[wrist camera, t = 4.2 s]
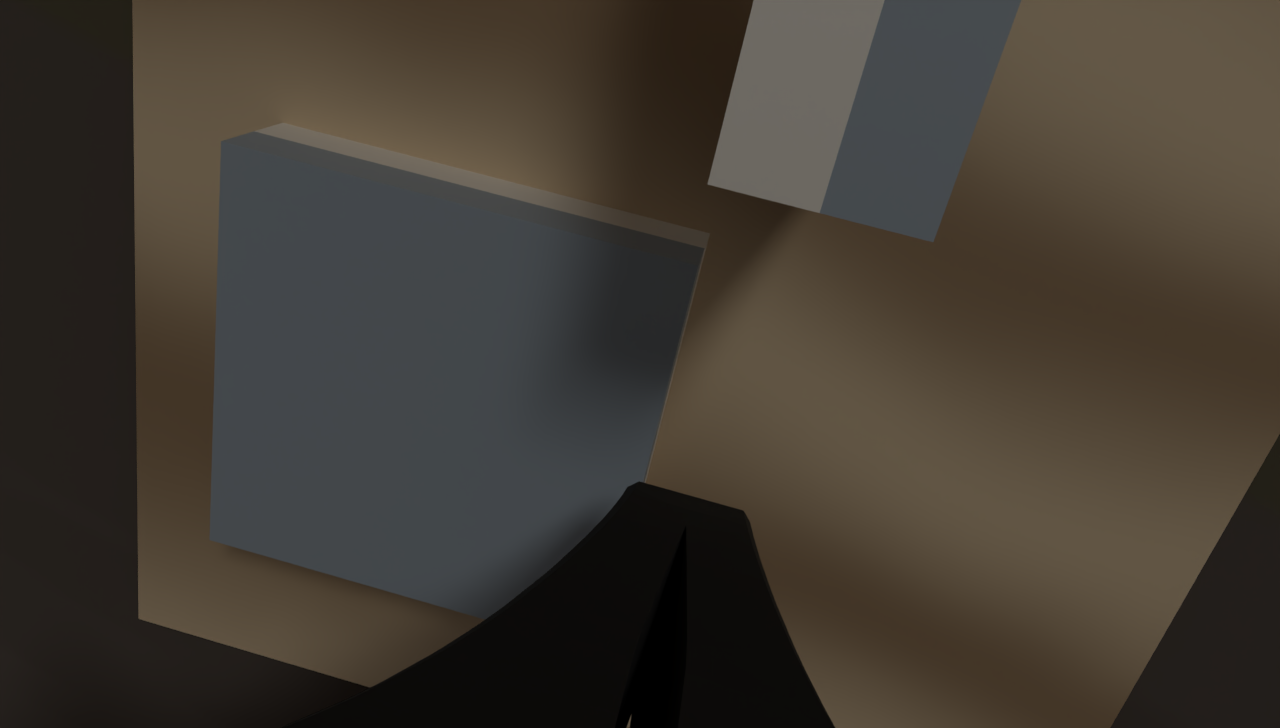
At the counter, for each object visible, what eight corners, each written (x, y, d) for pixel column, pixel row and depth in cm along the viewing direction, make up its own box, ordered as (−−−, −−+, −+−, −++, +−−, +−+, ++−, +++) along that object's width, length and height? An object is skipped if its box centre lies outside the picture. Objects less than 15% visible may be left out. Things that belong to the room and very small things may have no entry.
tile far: (599, 652, 14) (209, 540, 14) (617, 589, 15) (262, 488, 15) (698, 265, 11) (221, 141, 11) (710, 232, 12) (282, 122, 13)
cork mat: (1016, 860, 16) (1021, 880, 16) (153, 604, 17) (138, 618, 17) (2111, -1075, 7) (2180, -1129, 7) (149, -1380, 8) (118, -1442, 8)
